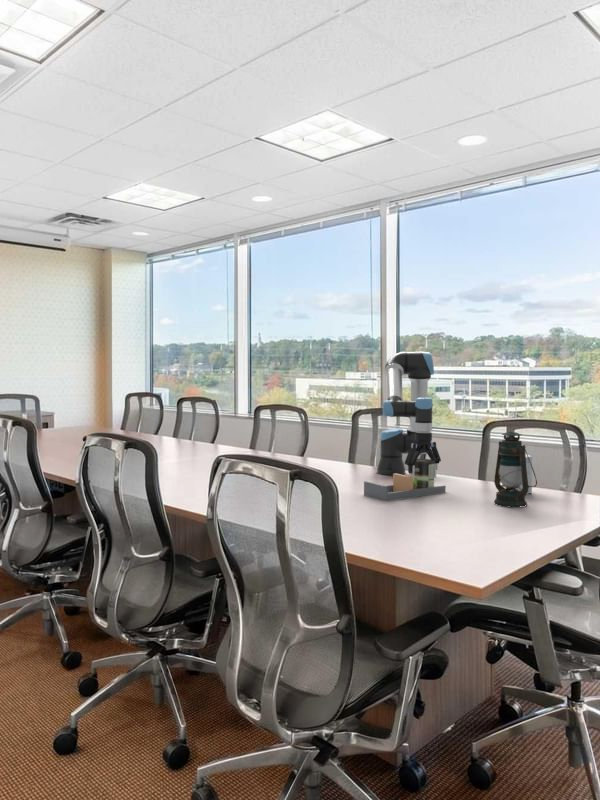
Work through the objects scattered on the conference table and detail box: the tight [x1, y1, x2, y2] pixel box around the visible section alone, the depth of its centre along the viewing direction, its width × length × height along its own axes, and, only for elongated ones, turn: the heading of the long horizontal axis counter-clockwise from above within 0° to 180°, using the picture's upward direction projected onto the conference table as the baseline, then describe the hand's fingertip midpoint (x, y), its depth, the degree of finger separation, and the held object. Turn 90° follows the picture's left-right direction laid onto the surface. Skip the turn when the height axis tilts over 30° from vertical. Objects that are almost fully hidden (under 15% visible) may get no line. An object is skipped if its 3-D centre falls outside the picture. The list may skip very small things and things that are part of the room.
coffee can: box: [413, 458, 435, 489], centre depth 279 cm, size 10×10×14 cm
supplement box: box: [515, 453, 533, 493], centre depth 278 cm, size 10×9×17 cm
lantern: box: [493, 431, 538, 508], centre depth 252 cm, size 19×14×30 cm
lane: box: [363, 480, 446, 502], centre depth 273 cm, size 35×14×6 cm, turn 123°
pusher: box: [392, 473, 413, 492], centre depth 272 cm, size 2×11×8 cm, turn 33°
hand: (422, 478), depth 279 cm, fingers open, 13 cm apart
